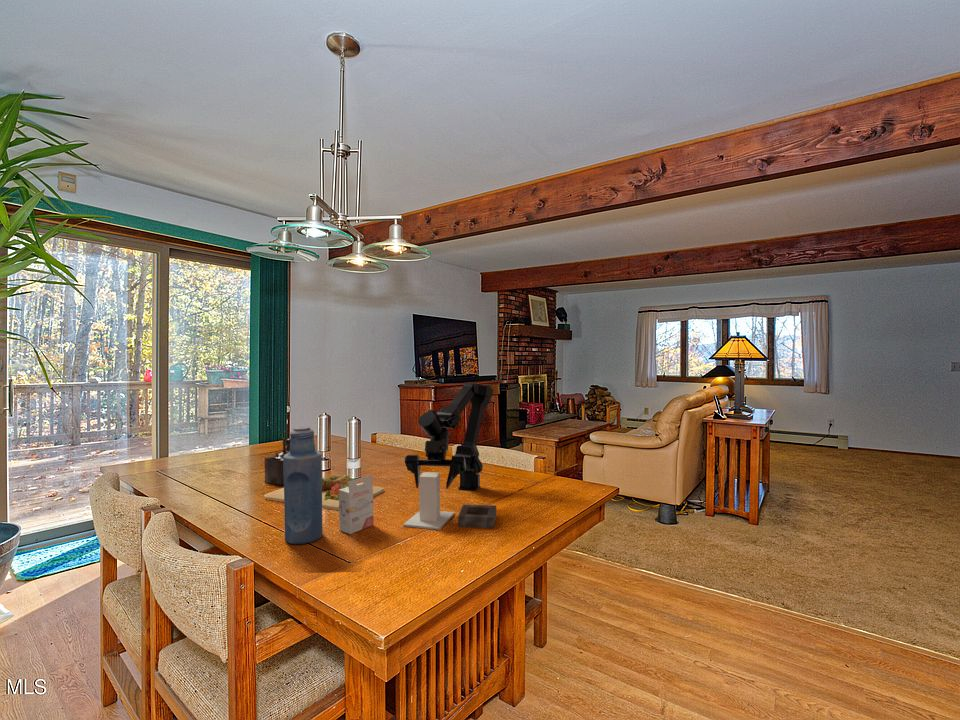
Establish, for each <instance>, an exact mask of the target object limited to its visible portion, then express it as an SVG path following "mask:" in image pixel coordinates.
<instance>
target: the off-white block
mask: <svg viewBox="0 0 960 720" xmlns="http://www.w3.org/2000/svg"><path fill="white" fill-rule="evenodd" d="M440 474H441V473H440V472H434V471H433V472H432V471H427V472H426V471H424V472H422V473H420V476H419V486H418V490H419V492H418V493H419V495H418V496H419V511H420V521H437V520H438V518H439V516H440V511H441V494H440V493H441V489H440V488H441V487H440V486H441V483H440V481H441V479H440V477H441V476H440Z"/></svg>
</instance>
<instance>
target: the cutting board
mask: <svg viewBox="0 0 960 720" xmlns="http://www.w3.org/2000/svg"><path fill="white" fill-rule="evenodd" d="M351 480H355V479H354V478H351V477H350V475H347V474H344V475H336V474H335V475H333V474H332V475H330V476H329V477H327V478H325V477H322V509H325V510H332V511H338V512H339V489H343V488H346V487H349V485H348V482H349V481H351ZM357 484H358V483H357ZM357 484H356V485H357ZM372 486H373V498H374V497H377V496H378V495H380V494H383V493H384V492H385V488H384V487H382V486H377V485H372ZM263 498H264V500H265V499H267V500H266V501H270V500H274V501H273V502H277V501H279V503H284V487H281V488H278V489H277V490H273V491H271V492H268V493H265V494H264V495H263Z"/></svg>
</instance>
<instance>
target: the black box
mask: <svg viewBox="0 0 960 720" xmlns="http://www.w3.org/2000/svg"><path fill="white" fill-rule="evenodd" d="M290 444H291V437H288V438H286V437H285V438H282V451H279V452H277V453H275V454H274V455H273V456H268V457H264V483H267V484H272V485H278V486H279V485H280V486H284V476H283V457H284V455H285V454H287V453H290Z"/></svg>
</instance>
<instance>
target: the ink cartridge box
mask: <svg viewBox="0 0 960 720" xmlns="http://www.w3.org/2000/svg"><path fill="white" fill-rule="evenodd" d="M356 484H357V485H356ZM348 485H349V487H346V488H343V489H339V511H338V515H339V516H338V518H339V531H340V532H343V533H345V534H348V535H351V534H354V533H357V532H360V531H362V530H364V529H367V528H369V527H372V526H374V497H373V486H374V485H373V478H372V475H370V474H369V475H367V476H362V477H358V478H356V479H354V480H351V481H349V482H348Z"/></svg>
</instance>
